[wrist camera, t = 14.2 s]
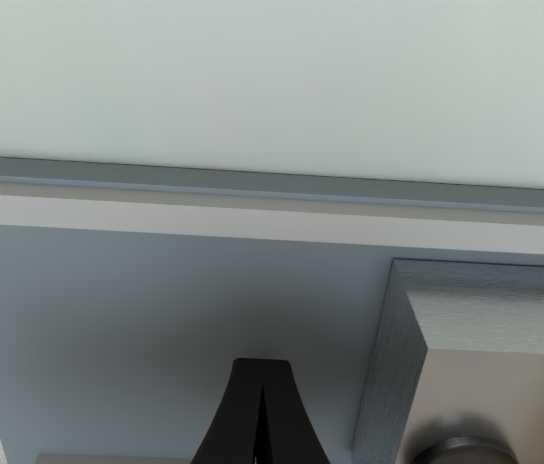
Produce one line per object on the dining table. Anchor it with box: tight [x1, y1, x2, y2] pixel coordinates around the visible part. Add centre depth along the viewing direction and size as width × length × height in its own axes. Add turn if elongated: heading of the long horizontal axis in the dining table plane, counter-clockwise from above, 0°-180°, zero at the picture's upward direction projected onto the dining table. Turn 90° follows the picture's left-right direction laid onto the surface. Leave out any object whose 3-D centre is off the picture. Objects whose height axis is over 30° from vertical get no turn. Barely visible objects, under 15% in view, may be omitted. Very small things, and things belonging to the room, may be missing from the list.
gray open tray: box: [0, 157, 544, 464], centre depth 13 cm, size 10×22×4 cm, turn 86°
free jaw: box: [351, 259, 544, 464], centre depth 12 cm, size 7×4×4 cm, turn 176°
